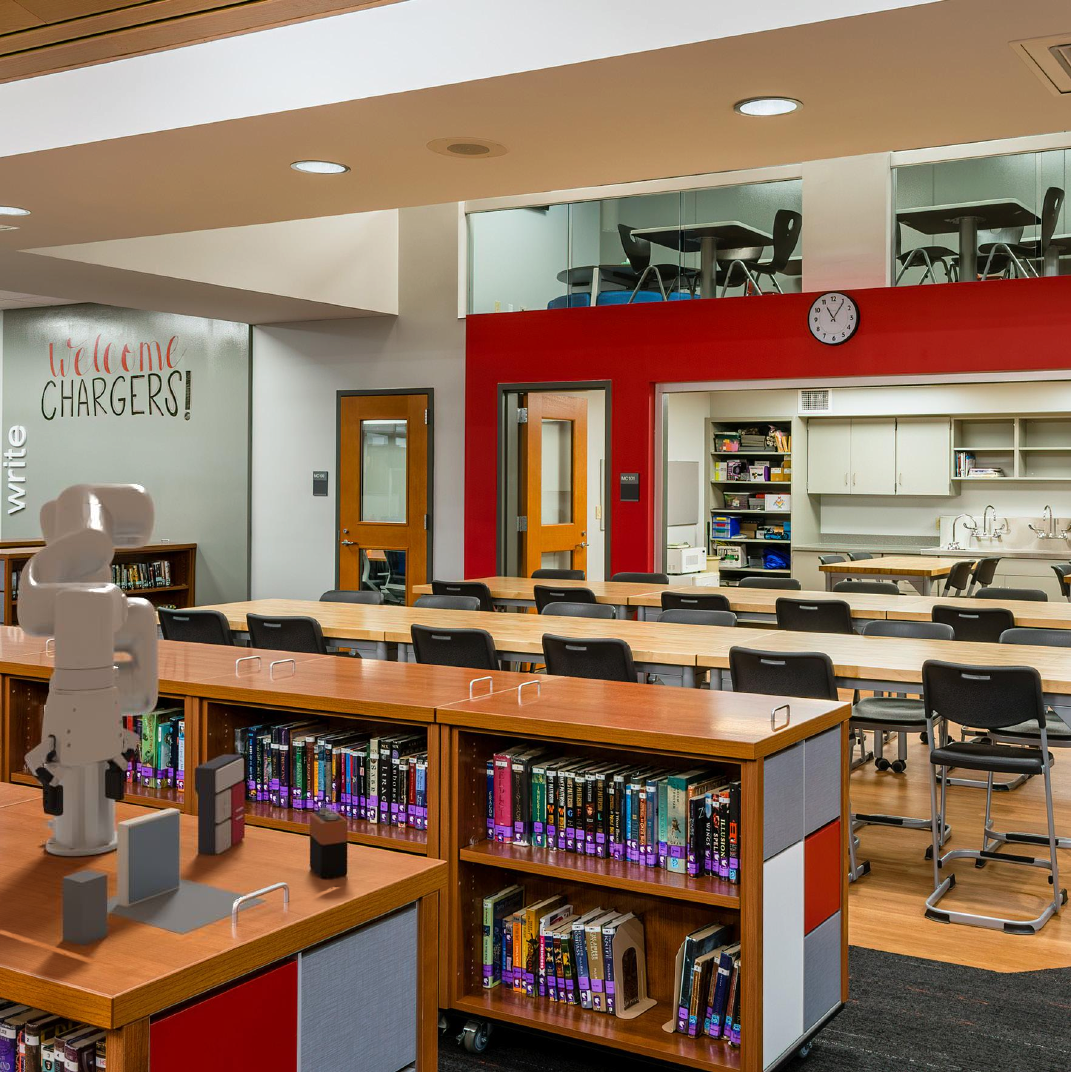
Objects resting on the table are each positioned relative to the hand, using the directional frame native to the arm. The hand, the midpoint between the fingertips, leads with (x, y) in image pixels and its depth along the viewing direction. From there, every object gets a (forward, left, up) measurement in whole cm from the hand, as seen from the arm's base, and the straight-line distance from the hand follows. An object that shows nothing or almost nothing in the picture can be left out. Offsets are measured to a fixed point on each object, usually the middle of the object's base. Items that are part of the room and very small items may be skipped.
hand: (84, 806), depth 158 cm
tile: (-6, +16, -18) cm, 25 cm away
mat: (0, +16, -19) cm, 25 cm away
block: (0, 0, -19) cm, 19 cm away
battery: (+8, +40, -19) cm, 45 cm away
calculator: (-16, +40, -19) cm, 47 cm away
